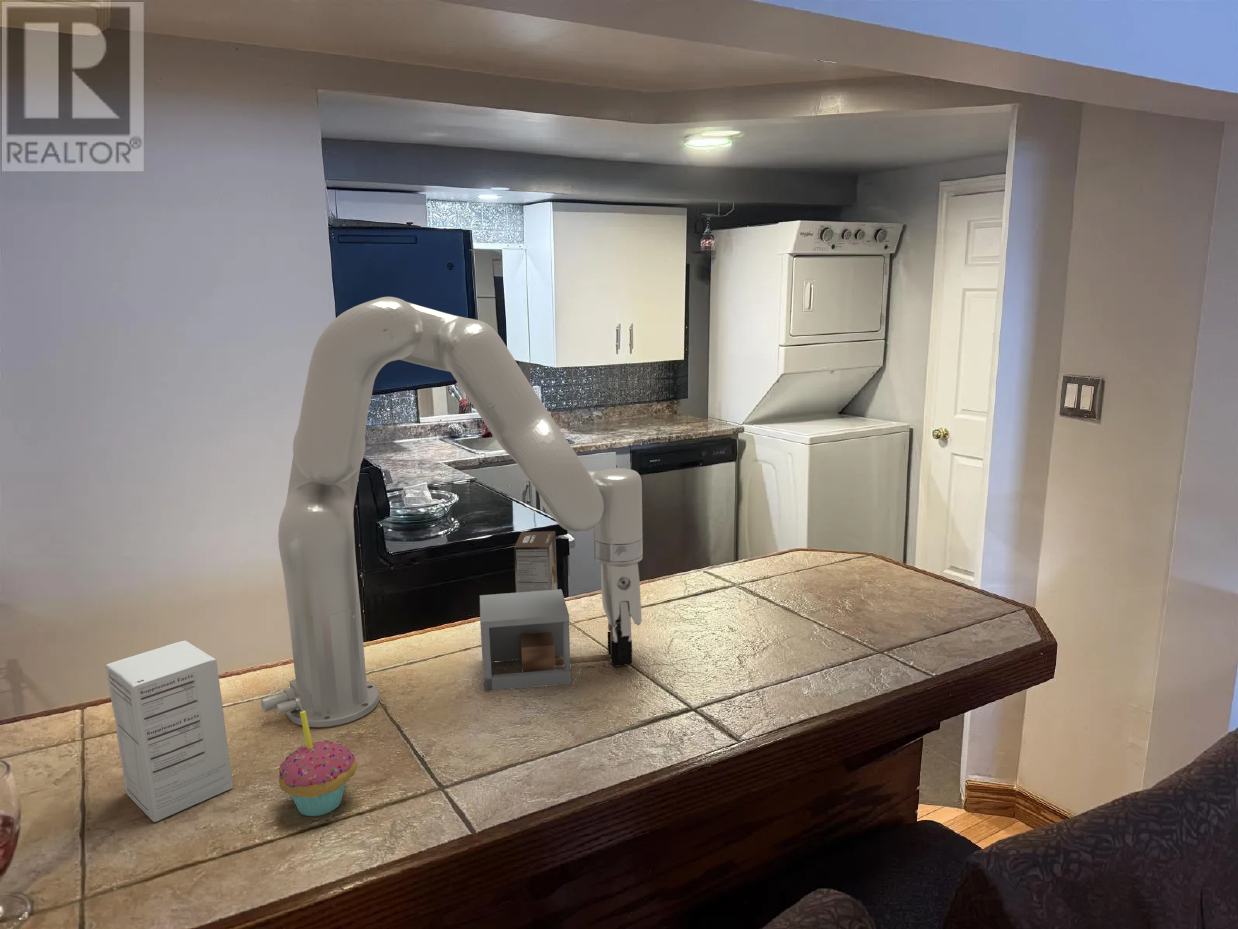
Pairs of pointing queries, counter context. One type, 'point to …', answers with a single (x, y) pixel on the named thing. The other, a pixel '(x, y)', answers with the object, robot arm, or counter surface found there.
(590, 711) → the counter surface
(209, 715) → the supplement box
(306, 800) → the cupcake
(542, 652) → the block
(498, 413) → the robot arm
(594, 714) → the counter surface
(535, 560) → the coffee box
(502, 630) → the grey open storage bin
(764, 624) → the counter surface
